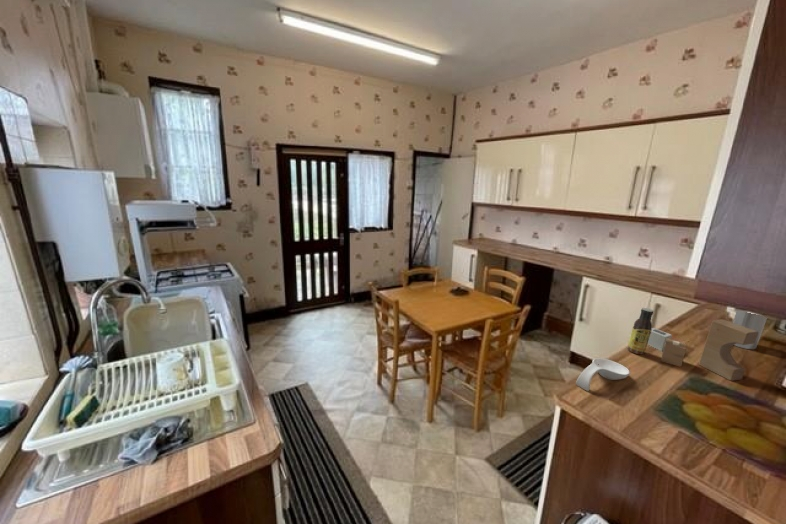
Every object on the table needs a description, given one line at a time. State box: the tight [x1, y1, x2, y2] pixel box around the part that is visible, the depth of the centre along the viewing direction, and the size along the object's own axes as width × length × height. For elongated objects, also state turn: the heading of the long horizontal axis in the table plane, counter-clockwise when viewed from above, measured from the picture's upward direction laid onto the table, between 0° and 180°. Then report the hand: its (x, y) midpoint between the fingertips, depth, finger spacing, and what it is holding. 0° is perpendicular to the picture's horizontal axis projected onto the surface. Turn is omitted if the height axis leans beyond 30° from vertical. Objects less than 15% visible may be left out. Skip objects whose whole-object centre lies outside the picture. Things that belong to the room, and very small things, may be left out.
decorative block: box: [698, 318, 758, 382], centre depth 120 cm, size 11×6×20 cm, turn 11°
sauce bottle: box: [626, 307, 655, 355], centre depth 133 cm, size 7×6×20 cm
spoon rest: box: [575, 357, 631, 392], centre depth 116 cm, size 24×12×7 cm, turn 120°
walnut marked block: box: [661, 338, 687, 368], centre depth 128 cm, size 6×6×8 cm
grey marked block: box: [647, 327, 672, 352], centre depth 140 cm, size 5×7×7 cm
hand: (716, 280), depth 126 cm, fingers closed
